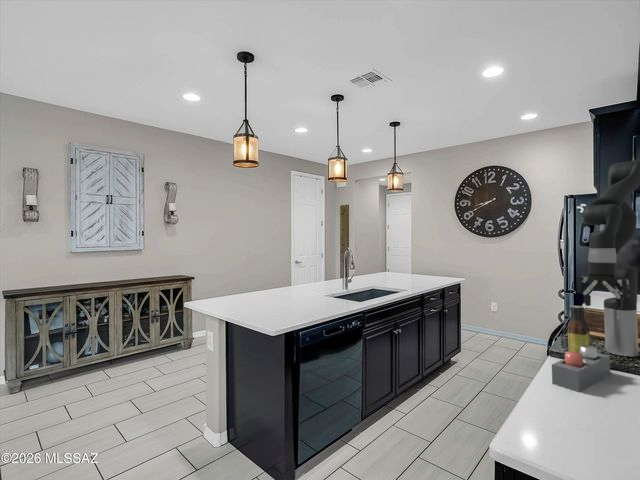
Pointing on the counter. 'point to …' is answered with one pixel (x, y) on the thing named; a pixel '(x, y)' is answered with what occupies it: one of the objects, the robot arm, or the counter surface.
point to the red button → (574, 359)
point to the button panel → (580, 373)
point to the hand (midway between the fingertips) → (602, 307)
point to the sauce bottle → (577, 329)
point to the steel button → (588, 352)
